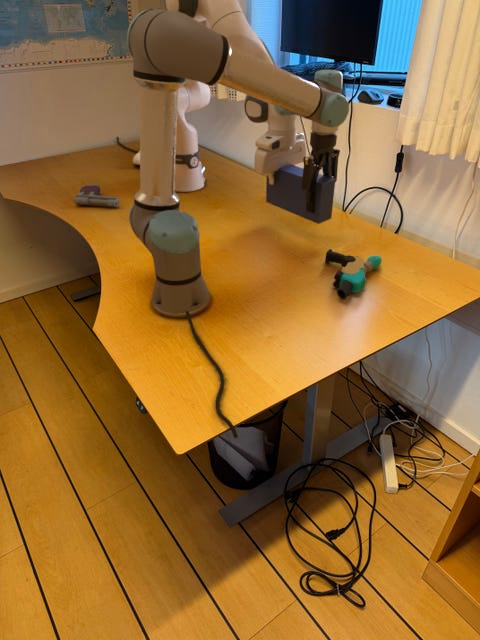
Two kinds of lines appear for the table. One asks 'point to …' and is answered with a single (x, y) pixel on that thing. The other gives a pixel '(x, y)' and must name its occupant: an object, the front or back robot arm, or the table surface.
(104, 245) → the table surface
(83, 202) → the toy gun
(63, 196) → the table surface
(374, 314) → the table surface
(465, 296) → the table surface
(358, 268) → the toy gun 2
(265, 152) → the back robot arm
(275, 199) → the box
